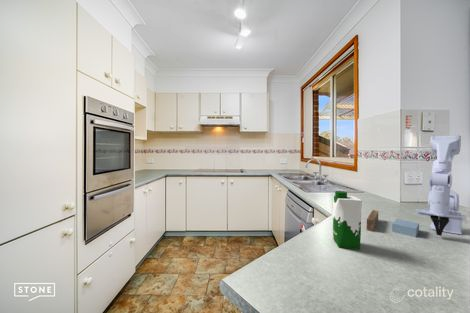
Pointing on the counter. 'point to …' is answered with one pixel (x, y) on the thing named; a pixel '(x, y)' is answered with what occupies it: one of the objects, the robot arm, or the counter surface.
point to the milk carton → (346, 220)
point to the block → (405, 227)
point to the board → (372, 220)
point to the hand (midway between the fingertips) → (438, 234)
